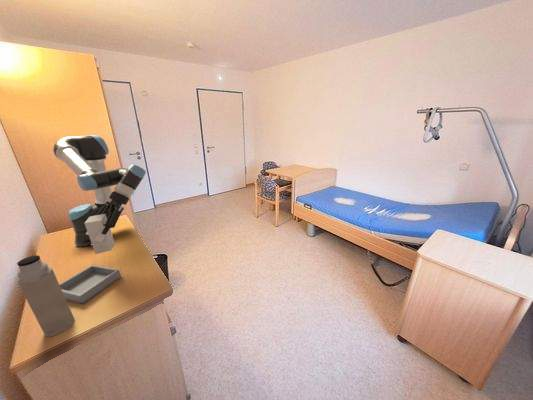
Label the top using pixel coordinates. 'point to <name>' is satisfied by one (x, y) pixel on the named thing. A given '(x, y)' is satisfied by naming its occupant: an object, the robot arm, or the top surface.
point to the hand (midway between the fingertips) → (93, 237)
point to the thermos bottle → (44, 295)
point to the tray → (89, 283)
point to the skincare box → (93, 229)
